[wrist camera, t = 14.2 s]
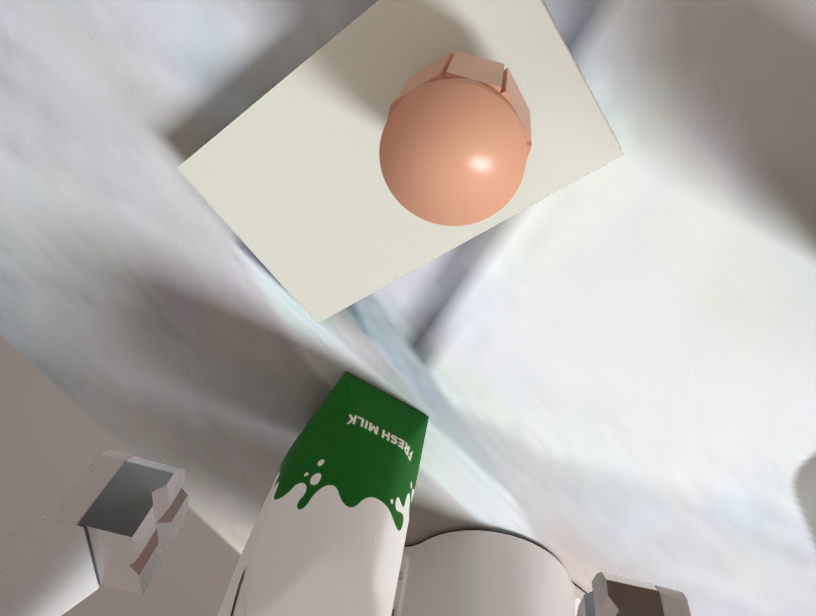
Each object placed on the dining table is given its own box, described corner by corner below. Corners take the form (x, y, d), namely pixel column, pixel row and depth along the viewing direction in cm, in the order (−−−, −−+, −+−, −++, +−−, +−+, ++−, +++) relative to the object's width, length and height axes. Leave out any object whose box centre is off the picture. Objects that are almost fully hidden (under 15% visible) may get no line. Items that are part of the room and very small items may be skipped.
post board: (325, 306, 38) (284, 387, 31) (193, 155, 33) (113, 214, 27) (618, 140, 29) (645, 206, 23) (492, -93, 25) (481, -96, 18)
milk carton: (290, 427, 45) (159, 718, 29) (341, 355, 40) (217, 657, 24) (387, 477, 47) (314, 781, 30) (447, 414, 42) (399, 737, 25)
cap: (544, 75, 24) (548, 106, 20) (502, 195, 28) (499, 241, 24) (416, 39, 24) (395, 63, 20) (389, 163, 28) (367, 204, 24)
